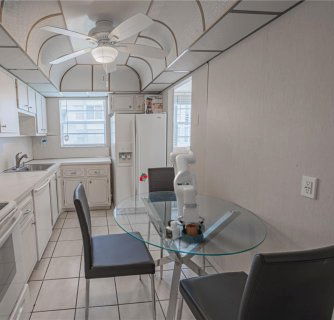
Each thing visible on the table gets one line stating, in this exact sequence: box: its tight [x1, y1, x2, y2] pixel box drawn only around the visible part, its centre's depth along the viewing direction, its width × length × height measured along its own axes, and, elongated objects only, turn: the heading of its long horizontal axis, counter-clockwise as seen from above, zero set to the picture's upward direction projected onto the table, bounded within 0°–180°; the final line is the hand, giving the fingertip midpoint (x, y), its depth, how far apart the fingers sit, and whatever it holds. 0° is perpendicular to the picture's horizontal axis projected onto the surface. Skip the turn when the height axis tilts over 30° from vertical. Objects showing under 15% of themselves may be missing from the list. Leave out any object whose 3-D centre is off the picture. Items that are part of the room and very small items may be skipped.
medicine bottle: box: [165, 219, 181, 241], centre depth 151 cm, size 7×7×12 cm
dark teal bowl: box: [180, 227, 205, 244], centre depth 145 cm, size 14×14×6 cm
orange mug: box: [185, 223, 199, 236], centre depth 147 cm, size 11×7×9 cm
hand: (192, 230), depth 145 cm, fingers open, 9 cm apart
